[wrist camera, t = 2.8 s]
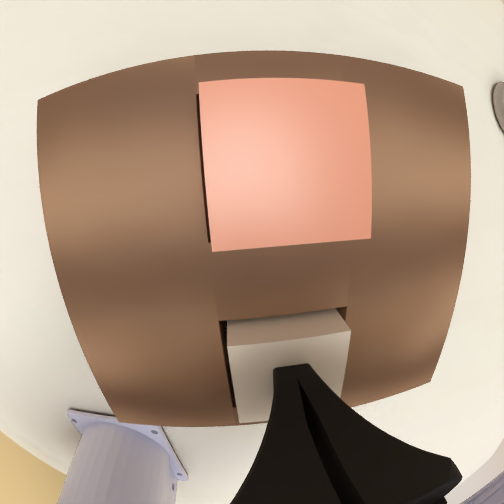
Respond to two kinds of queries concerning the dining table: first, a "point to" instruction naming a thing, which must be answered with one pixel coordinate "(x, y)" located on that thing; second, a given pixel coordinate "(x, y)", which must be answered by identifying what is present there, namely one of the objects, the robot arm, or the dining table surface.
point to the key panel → (244, 260)
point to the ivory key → (283, 354)
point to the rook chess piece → (499, 103)
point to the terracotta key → (285, 161)
